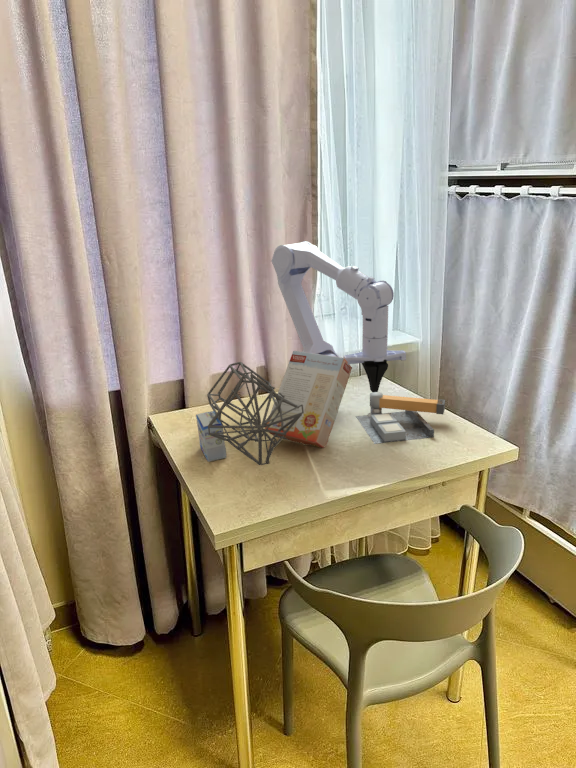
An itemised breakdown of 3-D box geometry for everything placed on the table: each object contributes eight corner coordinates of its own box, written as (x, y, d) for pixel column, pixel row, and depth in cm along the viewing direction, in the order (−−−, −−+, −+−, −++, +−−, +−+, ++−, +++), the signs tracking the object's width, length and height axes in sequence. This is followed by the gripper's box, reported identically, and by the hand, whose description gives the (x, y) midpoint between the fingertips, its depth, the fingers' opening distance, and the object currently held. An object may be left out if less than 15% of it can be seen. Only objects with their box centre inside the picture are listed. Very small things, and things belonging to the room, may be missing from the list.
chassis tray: (374, 447, 124) (374, 433, 122) (354, 418, 140) (354, 405, 139) (433, 441, 125) (434, 427, 124) (407, 412, 141) (407, 400, 140)
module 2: (384, 441, 124) (384, 433, 123) (377, 432, 129) (377, 424, 128) (405, 439, 125) (405, 430, 124) (398, 430, 129) (398, 422, 129)
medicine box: (200, 448, 128) (195, 414, 125) (218, 443, 129) (214, 409, 126) (207, 462, 121) (202, 427, 118) (227, 457, 122) (222, 422, 119)
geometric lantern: (244, 429, 143) (269, 479, 110) (194, 397, 138) (204, 438, 105) (279, 380, 142) (315, 415, 109) (230, 346, 138) (252, 371, 104)
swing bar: (368, 407, 136) (368, 396, 135) (371, 402, 139) (371, 391, 138) (443, 414, 130) (443, 402, 129) (444, 409, 133) (445, 397, 132)
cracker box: (325, 451, 124) (353, 367, 129) (314, 443, 119) (344, 356, 124) (275, 437, 131) (303, 359, 136) (263, 430, 127) (292, 348, 131)
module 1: (376, 430, 130) (376, 422, 129) (370, 422, 134) (370, 414, 134) (396, 428, 130) (397, 420, 130) (390, 420, 135) (390, 412, 134)
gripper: (348, 342, 121) (348, 399, 126) (411, 337, 123) (409, 393, 128) (341, 334, 128) (341, 388, 133) (400, 329, 130) (399, 383, 134)
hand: (374, 390), depth 131 cm, fingers closed
